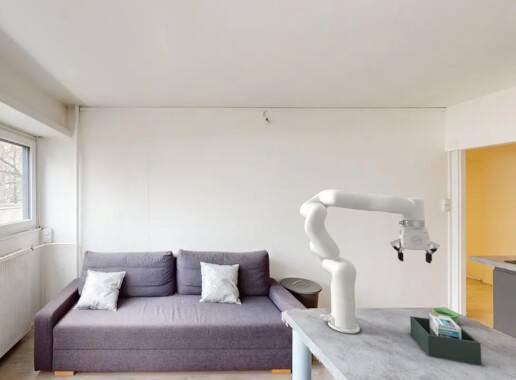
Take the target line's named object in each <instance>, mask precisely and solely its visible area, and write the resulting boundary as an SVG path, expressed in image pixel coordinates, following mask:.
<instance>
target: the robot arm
mask: <svg viewBox="0 0 516 380" xmlns="http://www.w3.org/2000/svg"><path fill="white" fill-rule="evenodd" d="M329 207H333V208H341V209H349V210H357V211H364V212H382V213H389V214H396V215H397V214H398V215H401V217H402V219H401V220H400V221H398V225H401V226H400V229H399V234H398V235H399V236H398V239H396V240H392V241H390V242H389V244H390V245H391V246H392V248H393V249H394V250H395V251H396V252H397V259H398V260H399V261H400V262H401V263H402V262H404V261H405V260H404V253H403V252H404V251H405V250H413V251H425V262H426V263H428V264H432V261H433V255H434V254H435V252H437V251H438V249H439V247H440V244H438V243H436V242H434V241H432V240H431V237H430V232H429V229H428V227H426V226H425V225H426V224H425V223H426V222H425V221H426V220H425V200H424V198H423V197H420V196H407V197H406V196H398V195H389V194H381V193H374V192H367V191H358V190H350V189H349V190H348V189H341V188H326V189H323V190H322V191H320V192H318V193H317V194H316V195H314V196H313V197H311V198H309V199H308V200H306V201H305V202H303V203H302V205H301V206H300V208H299V213H300V215H301V216H302V218H304V219H305V220H304V232H305V234H306V236H307V238H308V239H309V241H310V242H309V248H310V251H311V253H312V255H313V256H314V258H316V260H317V261H318V263H319V264H320V265H321V267H322V268H323V269H324V270H325V271H326V272H327V273H329V274H330V275H331V276H332V277H331V282H330V308H331V309H330V310H331V312H329V314H324V313H320V316H319V317H320V319H323V321H325V322H327V324H328V326H329V327H330V328H331V329H333V330H334V331H336V332H337V331H338V332H340V333H343V334H357V333H359V332H360V331H361V326H360V325H359V324H358V323H356V320H357V319H356V293H355V292H356V291H355V290H356V289H355V288H356V287H355V285H356V279H357V268H356V266H355V265H354V264H353V263H352V262H351V261H350V260H349V259H346V258H344V257H341V256H340V254H341V253H340V252H341V251H340V248H339V245H338V244H337V243H336V242H335V240H334V239H333V238H332V236H331V235H330V234H329V232H328V231H327V229H326V226H325V222H326V219H327V216H328V210H327V209H328V208H329ZM397 244H398V246H399V247H398V246H397ZM431 245H432V246H431Z"/></svg>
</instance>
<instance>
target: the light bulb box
mask: <svg viewBox="0 0 516 380" xmlns="http://www.w3.org/2000/svg"><path fill="white" fill-rule="evenodd" d="M428 317H429V318H428V319H429V321H430V335H435V336H441V337H448V338H455V339H461V328H462V327H461V326H460V325H459V324H458V323H457V324H458V325H459V326H460V327H461V328H460V327H459V326H458V325H457V324H456V323H455V322H454V321H453V320H452V319H451V317H448V316H442V315H436V314H433V313H428ZM461 340H462V339H461Z"/></svg>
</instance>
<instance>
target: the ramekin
mask: <svg viewBox="0 0 516 380" xmlns="http://www.w3.org/2000/svg"><path fill="white" fill-rule="evenodd" d="M431 311H432V314H436V315H442V316H448V317H451V319H452V320H453V321H454V322H455V323H456V324H458V321H459V317H460V315H459V314H458V313H457V312H456V311H453V310H450V309H447V308H441V307H434V308H431Z"/></svg>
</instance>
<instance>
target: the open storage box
mask: <svg viewBox="0 0 516 380" xmlns="http://www.w3.org/2000/svg"><path fill="white" fill-rule="evenodd" d="M409 321H410V324H409V325H410V335H411V336H412V338H413V339H414V340H415V342H416V343H418V345H419V346H420V347H421V348H422V350H423V351H424V352H425V353H426V354H427V356H428V357H433V358H438V359H443V360H444V359H445V360H450V361H455V362H461V363H467V364H473V365H479V366H482V343H481V342H479V340H477V339H476V338H475V337H474V336H472V335H471V334H470V333H469V332H467V330H465V329H464V328H463V327H462V326H460V325H459V324H458V323H457V325H458V326H459V327H460V328H461V339H462V340H461V339H455V338H448V337H441V336H435V335H430V321H429V318H427V317H419V316H412V315H411V316H409Z"/></svg>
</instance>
